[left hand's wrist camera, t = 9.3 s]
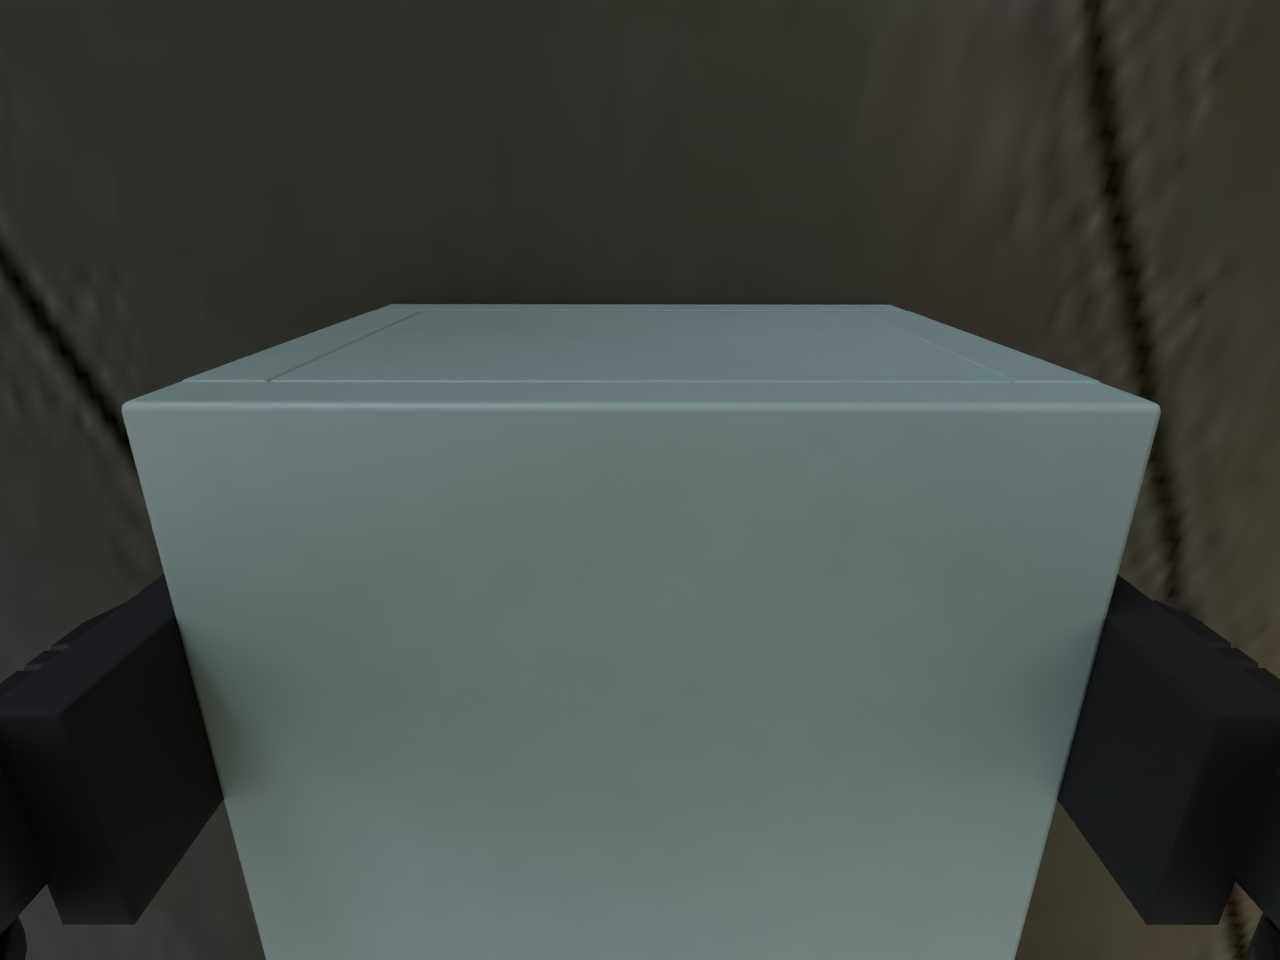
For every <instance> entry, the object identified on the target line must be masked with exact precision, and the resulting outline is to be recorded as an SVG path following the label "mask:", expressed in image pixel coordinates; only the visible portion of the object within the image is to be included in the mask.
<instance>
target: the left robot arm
mask: <svg viewBox="0 0 1280 960" xmlns="http://www.w3.org/2000/svg"><path fill="white" fill-rule="evenodd" d="M223 799H224V798H223V794H222V790H221V786H220V782H219V779H218V775H217V771H216V767H215V763H214V760H213V756H212V752H211V748H210V745H209V741H208V737H207V733H206V729H205V726H204V722H203V718H202V714H201V710H200V707H199V703H198V699H197V695H196V691H195V688H194V684H193V680H192V676H191V672H190V669H189V665H188V661H187V657H186V654H185V650H184V646H183V642H182V638H181V635H180V631H179V627H178V623H177V619H176V616H175V612H174V608H173V604H172V600H171V597H170V593H169V589H168V585H167V581H166V578H165V574H163V575H162V576H161V577H159V578H158V579H157V580H155V581H154V582H153V583H151V584H150V585H149V586H147V587H146V588H145V589H143V590H142V591H141V592H140V593H138V594H137V595H136V596H134V597H133V598H132V599H130V600H129V601H128V602H126V603H124V604H122V605H120V606H117V607H115V608H113V609H111V610H109V611H107V612H105V613H103V614H101V615H99V616H96V617H94V618H92V619H90V620H88V621H86V622H84V623H82V624H81V625H79V626H78V627H77V628H75V629H74V630H73V631H71V632H70V633H69V634H67V635H66V636H65V637H63V638H62V639H60V640H59V641H58V642H56V643H55V644H54V645H52V646H51V651H44V652H43V653H41V654H40V655H39V656H37V657H36V658H35V659H33V660H32V661H30V662H29V663H28V664H26V665H25V669H24V671H17V672H16V673H14V674H13V675H11V676H10V677H9V678H7V679H6V680H5V681H3V682H2V683H1V684H0V960H25V956H26V950H27V944H26V937H25V931H24V928H23V926H22V924H21V921H20V919H19V917H18V915H19V914H20V913H21V912H22V911H23V910H24V909H25V908H26V906H27V905H28V904H29V903H30V902H31V901H32V900H33V898H34V897H35V896H36V895H37V894H38V893H39V892H40V891H41V889H42V888H43V887H44V886H45V885H46V884H47V885H48V888H49V890H50V893H51V895H52V898H53V900H54V903H55V905H56V908H57V910H58V913H59V915H60V918H61V920H62V923H63V924H135V923H136V921H137V920H138V919H139V917H140V916H141V914H142V913H143V912H144V910H145V909H146V907H147V906H148V905H149V903H150V902H151V900H152V899H153V897H154V896H155V895H156V893H157V892H158V890H159V889H160V888H161V886H162V885H163V883H164V882H165V881H166V879H167V878H168V876H169V875H170V874H171V872H172V871H173V869H174V868H175V867H176V865H177V864H178V862H179V861H180V860H181V858H182V857H183V855H184V854H185V853H186V851H187V850H188V848H189V847H190V845H191V844H192V843H193V841H194V840H195V838H196V837H197V836H198V834H199V833H200V831H201V830H202V829H203V827H204V826H205V824H206V823H207V822H208V820H209V819H210V817H211V816H212V815H213V813H214V812H215V810H216V809H217V808H218V806H219V805H220V803H221V802H222V800H223ZM1058 801H1059V802H1060V804H1061V805H1062V806H1063V808H1064V809H1065V811H1066V812H1067V813H1068V815H1069V816H1070V818H1071V819H1072V820H1073V822H1074V823H1075V825H1076V826H1077V827H1078V829H1079V830H1080V832H1081V833H1082V834H1083V836H1084V837H1085V839H1086V840H1087V841H1088V843H1089V844H1090V846H1091V847H1092V849H1093V850H1094V851H1095V853H1096V854H1097V856H1098V857H1099V858H1100V860H1101V861H1102V863H1103V864H1104V865H1105V867H1106V868H1107V870H1108V871H1109V872H1110V874H1111V875H1112V877H1113V878H1114V879H1115V881H1116V882H1117V884H1118V885H1119V886H1120V888H1121V889H1122V891H1123V892H1124V893H1125V895H1126V896H1127V898H1128V899H1129V901H1130V902H1131V903H1132V905H1133V906H1134V908H1135V909H1136V910H1137V912H1138V913H1139V915H1140V916H1141V917H1142V919H1143V920H1144V922H1145V923H1146V924H1147V925H1218V923H1219V921H1220V918H1221V916H1222V913H1223V911H1224V908H1225V906H1226V903H1227V901H1228V898H1229V896H1230V893H1231V891H1232V888H1233V886H1234V883H1235V881H1236V882H1237V883H1238V884H1239V885H1240V886H1241V888H1242V889H1243V890H1244V891H1245V892H1246V893H1247V894H1248V895H1249V897H1250V898H1251V899H1252V900H1253V901H1254V902H1255V903H1256V904H1257V906H1258V907H1259V908H1260V909H1261V910H1262V911H1263V914H1262V917H1261V919H1260V921H1259V924H1258V926H1257V928H1256V931H1255V933H1254V936H1253V938H1252V940H1251V943H1250V945H1249V947H1248V950H1247V952H1246V954H1245V957H1244V959H1243V960H1280V679H1279V678H1277V677H1276V676H1275V675H1273V674H1272V673H1270V672H1269V671H1268V670H1266V669H1265V668H1258V663H1257V662H1255V661H1254V660H1253V659H1251V658H1250V657H1248V656H1247V655H1246V654H1244V653H1243V652H1242V651H1240V650H1239V649H1238V648H1231V643H1229V642H1228V641H1227V640H1225V639H1224V638H1222V637H1221V636H1220V635H1218V634H1217V633H1216V632H1214V631H1213V630H1211V629H1210V628H1209V627H1207V626H1206V625H1205V624H1203V623H1202V622H1200V621H1199V620H1197V619H1195V618H1193V617H1191V616H1189V615H1187V614H1184V613H1182V612H1180V611H1178V610H1176V609H1174V608H1172V607H1170V606H1167V605H1165V604H1163V603H1161V602H1159V601H1152V600H1151V599H1149V598H1148V597H1147V596H1145V595H1144V594H1143V593H1141V592H1140V591H1139V590H1137V589H1136V588H1135V587H1133V586H1132V585H1131V584H1130V583H1128V582H1127V581H1126V580H1124V579H1123V578H1122V577H1120V576H1119V575H1118V574H1117V578H1116V582H1115V585H1114V589H1113V593H1112V597H1111V600H1110V604H1109V608H1108V612H1107V615H1106V619H1105V623H1104V627H1103V630H1102V634H1101V638H1100V642H1099V645H1098V649H1097V653H1096V657H1095V660H1094V664H1093V668H1092V671H1091V675H1090V679H1089V683H1088V686H1087V690H1086V694H1085V698H1084V701H1083V705H1082V709H1081V713H1080V716H1079V720H1078V724H1077V728H1076V731H1075V735H1074V739H1073V742H1072V746H1071V750H1070V754H1069V757H1068V761H1067V765H1066V769H1065V772H1064V776H1063V780H1062V784H1061V787H1060V791H1059V795H1058Z"/></svg>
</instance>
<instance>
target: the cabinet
mask: <svg viewBox="0 0 1280 960" xmlns="http://www.w3.org/2000/svg"><path fill="white" fill-rule="evenodd" d="M1160 414H1161V411H1160V406H1159V405H1158V404H1156V403H1154V402H1151V401H1149V400H1146V399H1143V398H1141V397H1138V396H1135V395H1132V394H1130V393H1127V392H1124V391H1122V390H1119V389H1116V388H1114V387H1111V386H1108V385H1105V384H1103V383H1101V382H1100V381H1098V380H1095V379H1092V378H1090V377H1087V376H1084V375H1081V374H1079V373H1076V372H1073V371H1071V370H1068V369H1065V368H1062V367H1060V366H1057V365H1054V364H1052V363H1049V362H1046V361H1043V360H1041V359H1038V358H1035V357H1033V356H1030V355H1027V354H1024V353H1022V352H1019V351H1016V350H1013V349H1011V348H1008V347H1005V346H1003V345H1000V344H997V343H994V342H992V341H989V340H986V339H984V338H981V337H978V336H975V335H973V334H970V333H967V332H964V331H962V330H959V329H956V328H954V327H951V326H948V325H945V324H943V323H940V322H937V321H935V320H932V319H929V318H926V317H924V316H921V315H918V314H915V313H913V312H910V311H905V310H903V309H900V308H897V307H895V306H892V305H688V304H391V305H388V306H385V307H383V308H380V309H377V310H373V311H370V312H368V313H365V314H362V315H359V316H357V317H354V318H351V319H348V320H346V321H343V322H340V323H337V324H335V325H332V326H329V327H326V328H324V329H321V330H318V331H316V332H313V333H310V334H307V335H305V336H302V337H299V338H296V339H294V340H291V341H288V342H285V343H283V344H280V345H277V346H274V347H272V348H269V349H266V350H264V351H261V352H258V353H255V354H253V355H250V356H247V357H244V358H242V359H239V360H236V361H233V362H231V363H228V364H225V365H222V366H220V367H217V368H214V369H212V370H209V371H206V372H203V373H201V374H198V375H195V376H192V377H190V378H187V379H185V380H183V381H182V382H179V383H176V384H173V385H171V386H168V387H165V388H162V389H160V390H157V391H154V392H151V393H149V394H146V395H143V396H141V397H138V398H135V399H132V400H130V401H128V402H125V403H124V404H123V405H122V415H123V418H124V422H125V426H126V430H127V434H128V437H129V441H130V445H131V449H132V453H133V456H134V460H135V464H136V468H137V471H138V475H139V479H140V483H141V487H142V490H143V494H144V498H145V502H146V506H147V509H148V513H149V517H150V521H151V525H152V528H153V532H154V536H155V540H156V544H157V547H158V551H159V555H160V559H161V562H162V566H163V570H164V574H165V578H166V581H167V585H168V589H169V593H170V597H171V600H172V604H173V608H174V612H175V616H176V619H177V623H178V627H179V631H180V635H181V638H182V642H183V646H184V650H185V654H186V657H187V661H188V665H189V669H190V672H191V676H192V680H193V684H194V688H195V691H196V695H197V699H198V703H199V707H200V710H201V714H202V718H203V722H204V726H205V729H206V733H207V737H208V741H209V745H210V748H211V752H212V756H213V760H214V763H215V767H216V771H217V775H218V779H219V782H220V786H221V790H222V794H223V798H224V801H225V805H226V809H227V813H228V817H229V820H230V824H231V828H232V832H233V836H234V839H235V843H236V847H237V851H238V854H239V858H240V862H241V866H242V870H243V873H244V877H245V881H246V885H247V889H248V892H249V896H250V900H251V904H252V908H253V911H254V915H255V919H256V923H257V927H258V930H259V934H260V938H261V942H262V945H263V949H264V953H265V957H266V960H1014V959H1015V956H1016V952H1017V948H1018V944H1019V941H1020V937H1021V933H1022V929H1023V926H1024V922H1025V918H1026V914H1027V911H1028V907H1029V903H1030V900H1031V896H1032V892H1033V888H1034V885H1035V881H1036V877H1037V873H1038V870H1039V866H1040V862H1041V858H1042V855H1043V851H1044V847H1045V843H1046V840H1047V836H1048V832H1049V828H1050V825H1051V821H1052V817H1053V814H1054V810H1055V806H1056V802H1057V799H1058V795H1059V791H1060V787H1061V784H1062V780H1063V776H1064V772H1065V769H1066V765H1067V761H1068V757H1069V754H1070V750H1071V746H1072V742H1073V739H1074V735H1075V731H1076V728H1077V724H1078V720H1079V716H1080V713H1081V709H1082V705H1083V701H1084V698H1085V694H1086V690H1087V686H1088V683H1089V679H1090V675H1091V671H1092V668H1093V664H1094V660H1095V657H1096V653H1097V649H1098V645H1099V642H1100V638H1101V634H1102V630H1103V627H1104V623H1105V619H1106V615H1107V612H1108V608H1109V604H1110V600H1111V597H1112V593H1113V589H1114V585H1115V582H1116V578H1117V574H1118V571H1119V567H1120V563H1121V559H1122V556H1123V552H1124V548H1125V544H1126V541H1127V537H1128V533H1129V529H1130V526H1131V522H1132V518H1133V514H1134V511H1135V507H1136V503H1137V499H1138V496H1139V492H1140V488H1141V485H1142V481H1143V477H1144V473H1145V470H1146V466H1147V462H1148V458H1149V455H1150V451H1151V447H1152V443H1153V440H1154V436H1155V432H1156V428H1157V425H1158V421H1159V417H1160Z"/></svg>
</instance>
